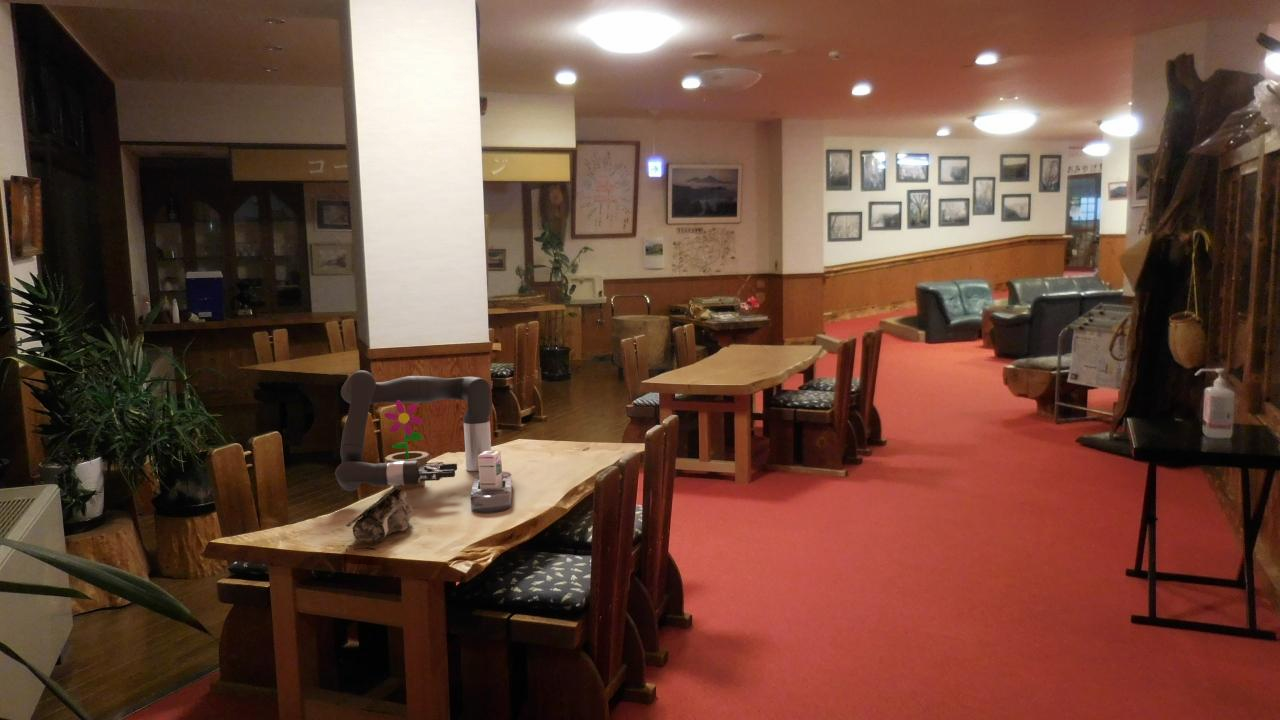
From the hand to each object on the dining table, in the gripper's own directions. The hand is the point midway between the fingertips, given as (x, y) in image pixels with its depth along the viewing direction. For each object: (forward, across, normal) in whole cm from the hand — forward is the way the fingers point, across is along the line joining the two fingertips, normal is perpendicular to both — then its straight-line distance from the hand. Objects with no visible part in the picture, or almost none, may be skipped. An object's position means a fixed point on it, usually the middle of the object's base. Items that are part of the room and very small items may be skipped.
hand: (456, 469), depth 284 cm
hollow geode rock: (-19, -32, +10) cm, 39 cm away
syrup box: (+11, 0, +10) cm, 14 cm away
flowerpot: (-18, +22, +10) cm, 30 cm away
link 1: (+11, +6, +9) cm, 16 cm away
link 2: (+11, -6, +10) cm, 16 cm away
